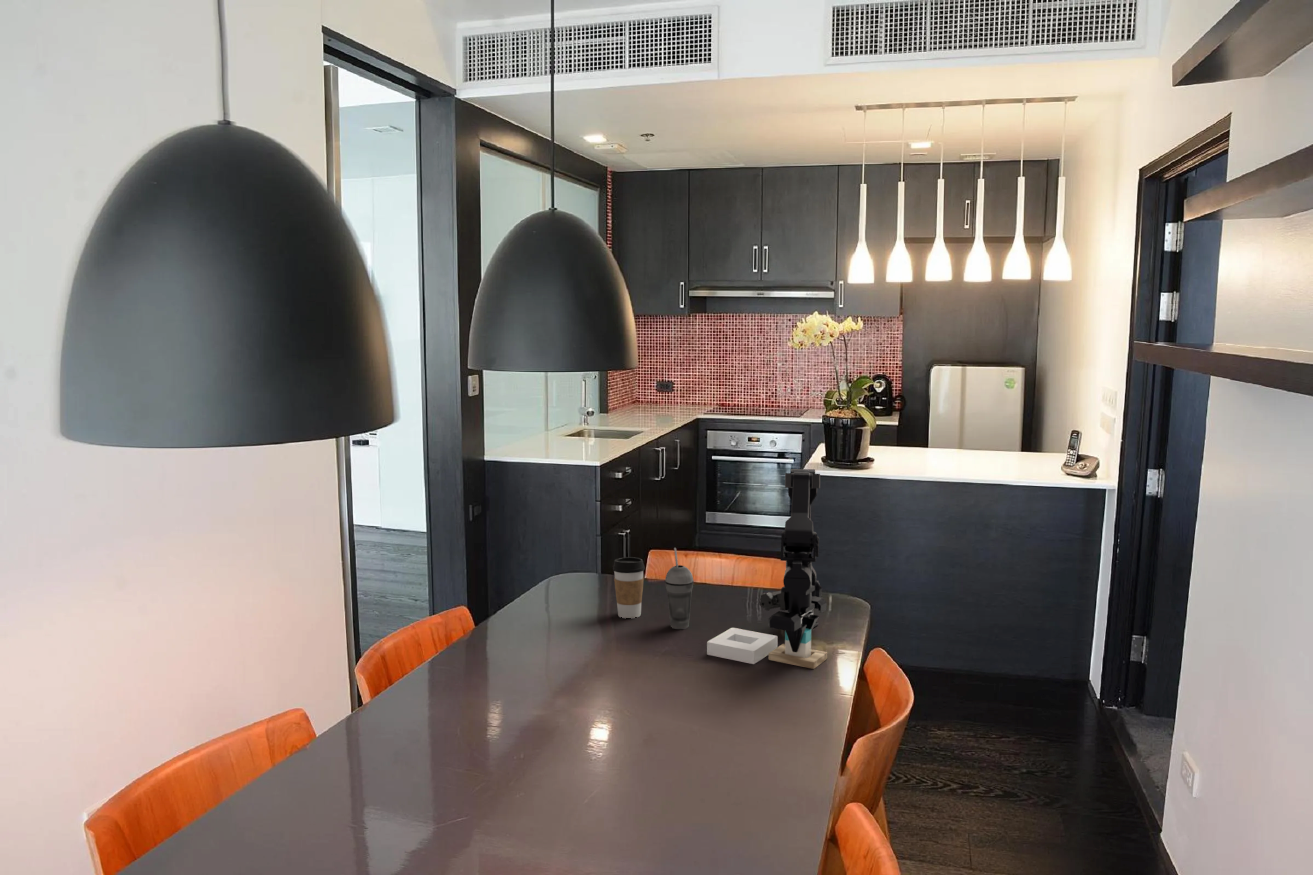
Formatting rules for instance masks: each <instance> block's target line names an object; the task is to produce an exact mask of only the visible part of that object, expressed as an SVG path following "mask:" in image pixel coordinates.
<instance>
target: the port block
mask: <svg viewBox="0 0 1313 875" xmlns="http://www.w3.org/2000/svg"><path fill="white" fill-rule="evenodd" d="M778 639H779V638H778V635H773V634H769V633H763V632H757V631H752V630H748V629H744V628H743V629H741V628H737V627H730V628H729V629H727V630H726V631H723V632H722V633H720V634H718V635H717V636H715V637H713V638H711V639H709V640H708V641H707V642H706V655H708V656H712V657H718V658H722V659H728V660H731V661H737V662H742V663H745V664H750V665H755V664H756V663H758V662H760V661H761V660H763V659H764V658H765V657H767V656H769V653H770V652H771V651H773V650H774V649H776V648H777V647H778V643H779V642H778Z"/></svg>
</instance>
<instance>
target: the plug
mask: <svg viewBox="0 0 1313 875" xmlns="http://www.w3.org/2000/svg"><path fill="white" fill-rule="evenodd" d="M784 644H785V654H788V655H793V656H798V657H803V658H808V657H810V656H811V649H812V631H811V629H807V628H805V631H804V634H803V637H802V640H801V643H800V646H799V649H798V652H793V651H792V648H791V645H790V642H789V639H788V636H787V633H786V631H785V630H784Z"/></svg>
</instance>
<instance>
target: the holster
mask: <svg viewBox="0 0 1313 875" xmlns="http://www.w3.org/2000/svg"><path fill="white" fill-rule="evenodd" d="M827 659H828V652H827V651H822V650H816V649H812V648H811V656H810V657H808V658H803V657H798V656H793V655H788V654H785V643H782V644H781V645H779V646H777V648H776V649H774V650H773V651H771V652H770V653H769V655H768V660H769V661H773V662H777V663H782V664H788V665H794V666H798V667H803V668H808V669H812V670H813V669H814V670H815V669H816V668H818V666H820V665H821V664H823V663H824V662H825V661H826V660H827Z"/></svg>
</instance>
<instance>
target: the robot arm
mask: <svg viewBox="0 0 1313 875" xmlns="http://www.w3.org/2000/svg"><path fill="white" fill-rule="evenodd" d="M784 488H787V489H788V490H787V494H788V495H787V496H788V497H789V499H790V501H791V510H790V512H791V513H790V517H789V518H787V520H785V525H784V531H783V530H782V531H781V535H780V536H781V541H780V542H781V543H780V561H781V562H783V561H785V570H784V575H783V580H782V583H783V586H782V587H781V589H780V590H777V591H773V592H770V591H768V592H764V593H762V594H760V598H759V606H760V607H762V609H764V612H768V611H770V610H773V609H778V608H779V610H778V611H777V612H774V614H772V615H771V616H769V618H768V627H769V628H770V629H776V630H782V631H784V632H785V631H786V633H787V636H788V639H789V642H790V645H791V648H792V651H793V652H798V649H799V646H800V643H801V640H802V637H803V634H804V631H805V628H807V629H811V632H812V631H813V629H814V628H815V627H817V626H819V622H818V619H819V615H817V614H814V610H815V609H816V610H818V612H819V613H821V614H823V613H824V612H825V611H828V610H827V603H828V602H827V601H826V599H824V598H823V597H822V590H823V588H822V586H821V585H820V581H819V580H817V571H816V570H815V568H814V567H813V564H812V563H815V562H816V561H817V558H819V555H820V554H819V552H820V550H819V549H820V537H819V536H818V533H817V532H816V531H814V522H813V521H812V519H811V514H812V512H811V511H812V509H811V507H812V506H811V505H812V504H813V502H814V500H816V498H817V495H818V489H821V474H820V473H816V469H814V468H813V469H811V468H807V469H806V468H791V469H790V472H785V473H784ZM812 553H813V554H812ZM812 555H813V556H812ZM786 611H787V612H786Z"/></svg>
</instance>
